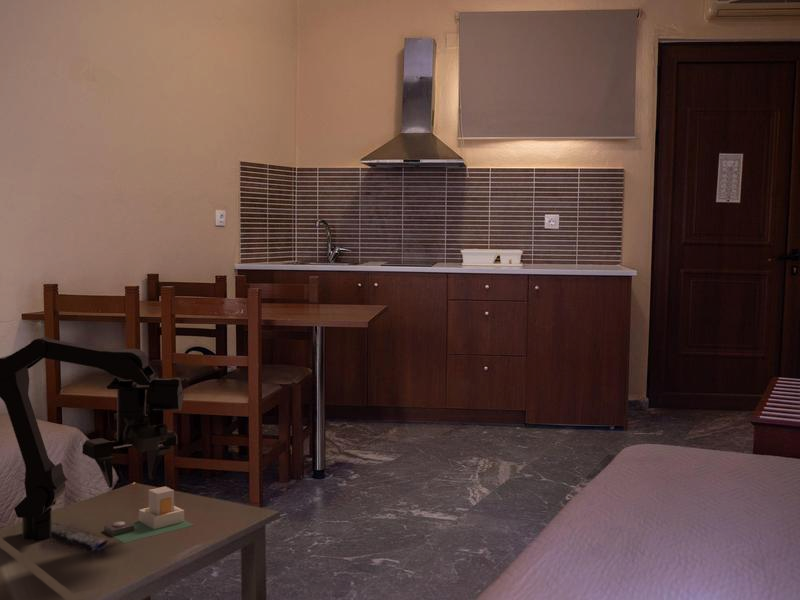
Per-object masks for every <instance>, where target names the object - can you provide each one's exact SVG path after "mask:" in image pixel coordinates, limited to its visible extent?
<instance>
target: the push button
mask: <svg viewBox="0 0 800 600" xmlns="http://www.w3.org/2000/svg"><path fill="white" fill-rule="evenodd" d="M103 530H104V531H106V532H107V533H109V534H111V535H112V536H116V535H120V534H124V533H128V532H132V531H134V525H133V524H132V523H131V522H130V521H127V520H120V521H115V522H111V523H107V524H104V525H103ZM104 531H103V532H104ZM106 532H105V533H106ZM107 533H106V534H107ZM109 534H108V535H109ZM111 535H110V536H111ZM112 536H111V537H112Z"/></svg>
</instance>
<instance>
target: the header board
mask: <svg viewBox="0 0 800 600" xmlns="http://www.w3.org/2000/svg"><path fill="white" fill-rule="evenodd" d="M131 524H133V525H134V531H132V532H128V533H124V534H120V535H116V536H112V535H111V534H109V533H107V532H106V531H104V529H103V530H102V532H104V533H106V534H107V535H108V536H109V535H110V536H111V537H113V538H114V539H116V540H117V541H120V543H122V544H126V543H130V542H133V541H137V540H141V539H142V540H143V539H146V538H150V537H152V536H158V535H161V534H164V533H169V532H173V531H176V530H180V529H185V528H189V527H192V526H194V524H193V523H191V522H189V521H187V520H185V509H182V508H180V507H178V506H176V505H174V512H170V513H166V514H162V515H157V516H155V515H153V514H151V513H149V507H146V508H142V509H141V508H140V509H138V521H137V522H133V523H131Z"/></svg>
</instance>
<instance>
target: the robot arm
mask: <svg viewBox="0 0 800 600" xmlns="http://www.w3.org/2000/svg"><path fill="white" fill-rule="evenodd" d="M43 359H48V360H52V361H53V360H54V361H59V362H64V363H69V364H75V365H79V366H80V365H81V366H87V367H91V368H96V369H99V370H101V371H103V372H105V373H107V374H108V375H112V376H114V378H113V380H112V381H111V382H110V383H109V384H107V386H106V389H107V390H117V391H116V400H117V401H116V413H114V415H113V419H114V420H116V432H115V433H113V438H114V439H116V440H112V441H110V440H108V439H105V438H103V437H100V438H92V439H87V440H85V441H84V443H83V444H82V455H85V456H87V457H89V458H90V459H93V460H95V463H96V464H97V465H98V468H99V469H100V472H101V473H102V475H103V477H104V481H105V482H106V483H105V484H107V487H109V489H112V488H113V484H114V475H113V471H114V470H113V462H114V461H115V459H116V457H114V456H112V454H113V453H114V451H117V450H123V449H129V448H134V450H135V451H136V452H138V453H145V452H146V455H147V456H146V457H147V458H146V459H147V473H148V479H149V480H154V479H155V476H156V473H157V469H158V468H159V465H160V462H161V460H162V458H163V456H164V455H165V453H167V451H169V450H172V448H173V446H177V445H178V435H177V433H176V432H175V431H174V430H170V429H168V425H167V424H166V423H159V424H155V425H151V423H150V415H148V414H147V412H146V411H147V410H146V409H147V408H146V407H147V406H146V405H148V407H149V408H151V410H152V411H181V410H183V405H184V404H183V403H184V391H183V385H182V378H181V377H172V378H159V376H158V374H157V373H156V372H155V371H154V369H153V368H152V366H151V365H150V364H149V358H148V356H147V354H146V353H145V351H143V350H142V349H138V348H102V347H101V348H100V347H94V346H89V345H84V344H79V343H73V342H70V341H69V342H68V341H63V340H57V339H53V338H50V337H49V336H43V337H39V338H35V339H32V341H31V342H30V343H29V344H27V345H25V346H24V347H22V348H20V349H18V350H17V351H14V352H13V353H11V354H10V355H5V356H3V357H0V399H1V400H2V401H3V402H4V405H5V407H6V410H7V414H8V417H9V420H10V423H11V426H12V430H13V432H14V435H15V439H16V441H17V445H18V448H19V450H20V454H21V457H22V460H23V464H24V466H25V467H24V469H25V473H24V489H25V497H24V498H23V499H22V500H21V501H20V502H19V503H17V505H15V507H14V508H13V509H14V512H15V514H16V517H17V518H18V519H19V518H21V528H22V529H21V530H22V531H21V536H22V539H25V540H29V541H30V540H33V541H37V542H39V541H42V540H48V539H51V537H52V534H51V530H52V531H53V515H52V514H53V512H52V511H53V510H52V507H53V506H54V505H56V503H57V500H58V499H59V498H61V496H62V495H63V494H64V492H65V490H66V482H67V481H68V477H66V476H65V474H64V469H63V464H62V463H61V462H59V463H57V464H54V462H52V460H51V459H50V458H49V455H48V453H47V449H46V447H45V446H46V445H45V442H44V440H43V437H42V433H41V430H40V427H39V425H38V422H37V417H36V414H35V412H34V408H33V405H32V402H31V400H30V397H29V396H30V395H29V390H30V389H29V387H30V375H29V369H31V368H33V367H34V366H35V365H36V364H38V363H39V362H40V361H42V360H43Z"/></svg>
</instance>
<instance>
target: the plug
mask: <svg viewBox="0 0 800 600" xmlns="http://www.w3.org/2000/svg"><path fill="white" fill-rule="evenodd" d="M174 506H175V490H174V489H172V488H170V487H168V486H166V485H165V486H161V487H156V488H152V489H148V508H149V513H151V514H153V515H155V516H157V515H162V514H166V513H170V512H174Z"/></svg>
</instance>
